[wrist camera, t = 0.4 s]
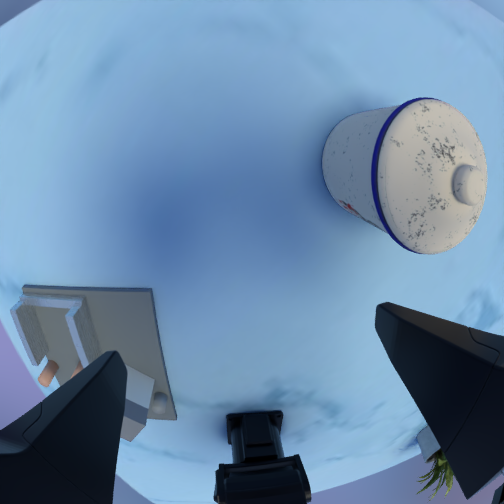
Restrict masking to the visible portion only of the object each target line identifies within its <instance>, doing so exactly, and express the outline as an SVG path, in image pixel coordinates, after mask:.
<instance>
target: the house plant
mask: <svg viewBox="0 0 504 504" xmlns="http://www.w3.org/2000/svg"><path fill="white" fill-rule="evenodd" d="M417 440H418V443H419V446H420V449H421V452H422V455H423V458H424V461H425V463H430V462H432V461H434V462H435V464H436V465H435V467H434V469H433V470H432V471H433V472H434V475H433V477H432V479H431V480H430V482H429V483H428V484H427V485H426V486H425V487H424V488H423V489H422V490H421V491H423V490H425V489H427V488H428V487H429V486H430V485H432V484H433V483H434V482H435V481H436V480H437V479H438V478H439V477H440V476H441V477H440V481H439V484H438V486H437V489H436V492H437V491H438V488H439V486H440V483H441V479H442V475H443V473H444V472H445V474H444V478H443V482H442V484H441V486H442V485H443V483H444V481H445V479H446V486H447V487H448V490H447V492H446V494H447V493H448V492H449V491H450V489H451V487H452V484H453V475H454V473H453V471H452V469H451V467H450V465H449V463H448V461H447V459H446V457H445V455H444V454H445V453H443V451H442V449H441V447H440V446H439V444H438V442H437V440H436V438H435V436H434V435H433V433H432V431H431V429H430V427H429V426H427V427H425V428H424V429H423V430H422V431H421V432H420V433H419V434H418V435H417ZM436 461H437V462H436ZM434 470H435V471H434ZM443 470H444V471H443ZM432 471H430V472H429V473H428V474H426V475H425V476H422V477H420V478H425V477H426V476H428V475H430V473H431V472H432ZM440 472H441V475H440V476H439V474H440ZM442 472H443V473H442ZM432 474H433V473H432ZM432 474H431V475H432ZM431 475H430V476H431ZM430 476H428V478H430ZM454 476H455V475H454ZM428 478H426V479H424V480H421V481H425V480H427V479H428ZM455 478H456V477H455ZM456 480H457V479H456ZM421 481H418V482H421ZM441 486H440V487H441ZM421 491H419V492H421ZM419 492H418V493H419ZM436 492H435V494H436ZM418 493H417V494H418ZM435 494H434V495H433V497H434V496H435ZM445 496H446V495H445ZM433 497H432V498H433Z"/></svg>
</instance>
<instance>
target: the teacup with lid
mask: <svg viewBox="0 0 504 504" xmlns="http://www.w3.org/2000/svg"><path fill="white" fill-rule="evenodd" d="M322 169H323V175H324V180H325V183H326V185H327V188H328V190H329V192H330V194H331V195H332V197H333V198H334V199H335V201H336V202H337V203H338V204H339V205H340V206H341V207H342V208H344V209H345V210H346V211H348V212H349V213H351V214H353V215H355V216H357V217H359V218H361V219H363V220H364V221H366V222H368V223H370V224H372V225H373V226H375V227H377V228H379V229H381V230H382V231H384V232H386V233H388V234H389V235H390V236H391V237H392V239H393V240H394V241H396V242H397V243H398V244H399V245H400V246H402V247H403V248H405V249H407V250H409V251H411V252H414V253H418V254H438V253H442V252H445V251H447V250H449V249H451V248H453V247H455V246H456V245H458V244H459V243H460V242H461V241H462V240H463V239H464V238H465V237H466V236H467V235H468V234H469V233H470V231H471V230H472V228H473V227H474V225H475V224H476V222H477V220H478V218H479V216H480V213H481V210H482V207H483V204H484V200H485V196H486V189H487V165H486V158H485V154H484V150H483V147H482V144H481V141H480V139H479V137H478V134H477V133H476V131H475V129H474V127H473V126H472V124H471V123H470V122H469V120H468V119H467V118H466V117H465V116H464V115H463V114H462V113H461V112H460V111H459V110H457V109H456V108H454V107H453V106H452V105H450V104H448V103H446V102H443V101H440V100H438V99H434V98H426V97H424V98H416V99H412V100H409V101H407V102H405V103H403V104H402V105H398V106H392V107H386V108H381V109H376V110H371V111H366V112H361V113H356V114H353V115H351V116H348V117H347V118H345V119H343V120H342V121H341V122H339V123H338V124H337V125H336V126H335V128H334V129H333V130H332V132H331V133H330V135H329V137H328V139H327V141H326V144H325V147H324V151H323V157H322Z"/></svg>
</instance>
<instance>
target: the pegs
mask: <svg viewBox="0 0 504 504" xmlns="http://www.w3.org/2000/svg"><path fill="white" fill-rule="evenodd" d="M58 368H59V366H58V364H57V363H56V362H55V361H53V360H49V361H48V363H47V364H46V366H45V368H44V369H43V371H42V372H41V374H40V376H39V377H38V381H39V383H40V384H41V385H43V386H44V387H48V386H49V384H50V383H51V381H52V379H53V377H54V375H55V374H56V372H57V370H58ZM82 369H84V368H83V366H82V363H81V361H79V363H78V365H77V367H76V369H75V371H74V373H73V375H72V377H73V376H75V375H76V374H77V373H79V372H80V371H81V370H82ZM72 377H71V378H72ZM166 403H167V395H166V394H165V393H163V392H156V393H155V394H154V399H153V404H152V411H153V412H155V413H157V414H163V413H165V409H166Z"/></svg>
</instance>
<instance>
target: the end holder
mask: <svg viewBox="0 0 504 504" xmlns="http://www.w3.org/2000/svg"><path fill="white" fill-rule="evenodd" d="M34 306H43V307H55V308H68V309H70V310H69V312H68V313H67V314H66V315H65V318H66V321H67V324H68V327H69V330H70V333H71V336H72V339H73V342H74V345H75V348H76V350H77V353H78V356H79V358H80V361H81V363H82V366H83V368H85V367H86V366H88V365H89V364H90V363H92V362H93V361H94V360H95V359H97V358H98V357H99V356H101V355H102V352H101V349H100V346H99V343H98V340H97V336H96V333H95V330H94V326H93V323H92V319H91V315H90V312H89V308H88V304H87V300H86V296H79V295H59V294H42V293H28V292H24V293H23V294H22V295H21V296H20V301H18V302H17V303H16V304H15V305H14V306H13V307H12V308H11V309H10V312H11V315H12V318H13V320H14V323H15V326H16V328H17V331H18V333H19V336H20V338H21V341H22V343H23V345H24V348H25V350H26V352H27V354H28V357H29V359H30V361H31V363H32V365H35V366H38V365H39V364H40V362H41V361H42V359H43V358H44V356H45V355H46V353H47V352H48V350H49V347H48V344H47V342H46V339H45V336H44V334H43V331H42V328H41V326H40V323H39V320H38V317H37V314H36V311H35V308H34Z"/></svg>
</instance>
